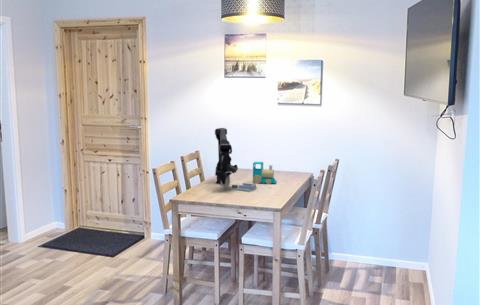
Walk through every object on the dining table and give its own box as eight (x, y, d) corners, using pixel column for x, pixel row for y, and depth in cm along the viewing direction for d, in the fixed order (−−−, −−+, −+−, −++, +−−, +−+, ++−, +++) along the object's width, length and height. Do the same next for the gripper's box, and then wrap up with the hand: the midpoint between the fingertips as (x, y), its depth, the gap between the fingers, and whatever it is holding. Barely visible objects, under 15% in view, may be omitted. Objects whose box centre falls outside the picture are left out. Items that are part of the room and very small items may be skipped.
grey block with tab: (220, 185, 318) (220, 175, 317) (223, 184, 322) (223, 174, 321) (227, 186, 316) (227, 176, 315) (229, 185, 320) (229, 175, 319)
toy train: (275, 184, 333) (275, 164, 331) (252, 183, 337) (252, 163, 335) (276, 182, 341) (277, 162, 339) (254, 181, 345) (254, 161, 342)
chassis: (230, 189, 317) (230, 184, 317) (236, 186, 327) (236, 181, 327) (250, 191, 311) (250, 187, 311) (256, 188, 321) (256, 183, 321)
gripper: (230, 164, 305) (230, 187, 307) (241, 160, 322) (241, 182, 324) (214, 163, 309) (214, 186, 312) (226, 158, 326) (226, 180, 329)
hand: (225, 183), depth 319 cm, fingers closed on grey block with tab, 4 cm apart
